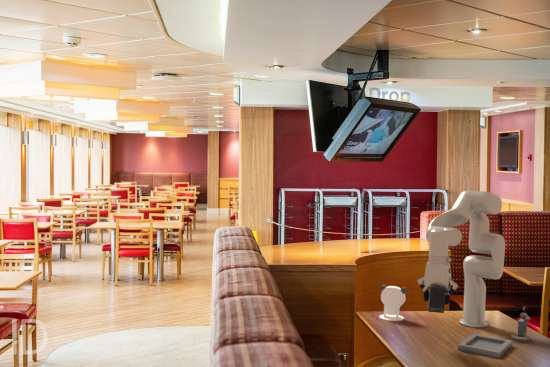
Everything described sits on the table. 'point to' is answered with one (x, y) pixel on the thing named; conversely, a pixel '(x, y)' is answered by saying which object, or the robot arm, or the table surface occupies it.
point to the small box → (436, 299)
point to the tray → (485, 345)
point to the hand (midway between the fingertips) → (436, 302)
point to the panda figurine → (392, 302)
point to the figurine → (522, 330)
